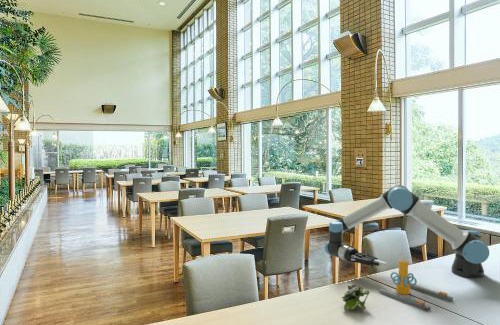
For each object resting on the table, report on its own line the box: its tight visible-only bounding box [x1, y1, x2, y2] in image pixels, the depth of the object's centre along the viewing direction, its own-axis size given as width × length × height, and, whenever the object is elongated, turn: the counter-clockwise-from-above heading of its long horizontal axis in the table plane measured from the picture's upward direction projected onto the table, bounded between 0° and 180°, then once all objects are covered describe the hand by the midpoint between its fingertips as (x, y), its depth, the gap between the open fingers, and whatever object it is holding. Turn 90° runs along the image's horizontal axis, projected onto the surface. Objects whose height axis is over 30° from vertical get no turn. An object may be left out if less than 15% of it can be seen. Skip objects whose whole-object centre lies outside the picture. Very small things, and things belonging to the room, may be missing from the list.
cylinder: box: [390, 259, 418, 296], centre depth 173 cm, size 12×10×15 cm
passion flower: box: [341, 284, 370, 311], centre depth 157 cm, size 11×11×12 cm
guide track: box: [379, 284, 454, 312], centre depth 168 cm, size 24×19×2 cm
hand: (385, 265), depth 181 cm, fingers closed
